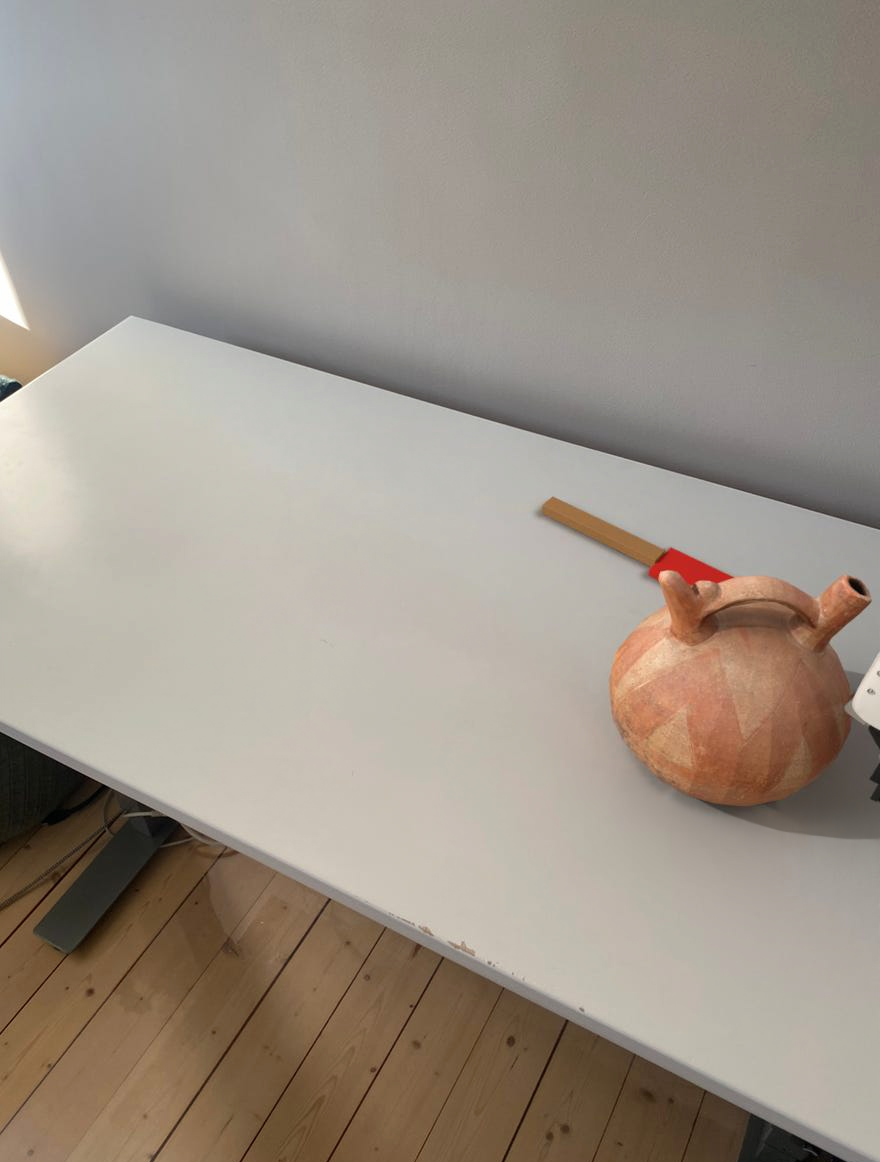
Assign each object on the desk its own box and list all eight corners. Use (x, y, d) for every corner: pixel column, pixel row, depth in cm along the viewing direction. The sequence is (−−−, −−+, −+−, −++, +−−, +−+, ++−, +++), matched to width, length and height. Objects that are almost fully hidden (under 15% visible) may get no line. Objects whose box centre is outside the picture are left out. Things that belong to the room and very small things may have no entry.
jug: (599, 828, 75) (641, 665, 60) (596, 661, 87) (631, 491, 72) (836, 852, 73) (940, 690, 58) (800, 678, 85) (878, 507, 70)
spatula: (557, 499, 103) (558, 490, 102) (740, 586, 93) (743, 577, 92) (534, 518, 101) (535, 510, 100) (719, 610, 91) (722, 602, 90)
